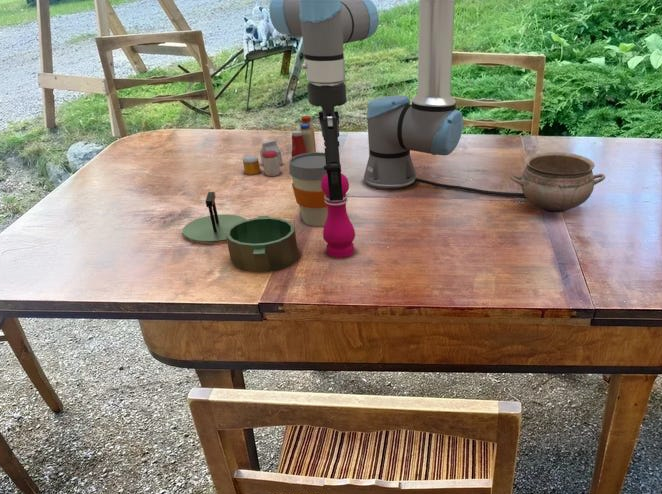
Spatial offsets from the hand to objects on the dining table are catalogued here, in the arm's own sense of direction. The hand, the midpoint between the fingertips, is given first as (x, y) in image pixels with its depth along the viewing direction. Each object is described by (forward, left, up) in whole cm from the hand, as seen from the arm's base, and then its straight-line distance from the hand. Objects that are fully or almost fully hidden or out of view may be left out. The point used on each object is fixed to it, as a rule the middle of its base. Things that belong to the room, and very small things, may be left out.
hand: (334, 188), depth 130 cm
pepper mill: (0, 0, -15) cm, 15 cm away
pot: (+17, 0, -15) cm, 23 cm away
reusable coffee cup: (+4, -20, -15) cm, 26 cm away
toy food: (+13, -63, -15) cm, 66 cm away
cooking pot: (-58, -18, -15) cm, 63 cm away
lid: (+29, -16, -15) cm, 36 cm away
